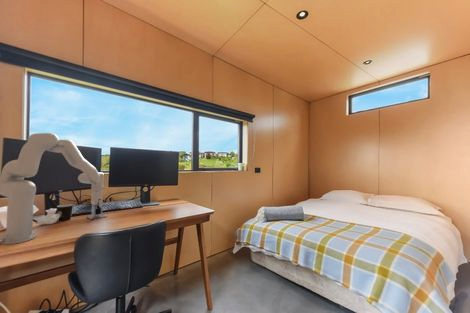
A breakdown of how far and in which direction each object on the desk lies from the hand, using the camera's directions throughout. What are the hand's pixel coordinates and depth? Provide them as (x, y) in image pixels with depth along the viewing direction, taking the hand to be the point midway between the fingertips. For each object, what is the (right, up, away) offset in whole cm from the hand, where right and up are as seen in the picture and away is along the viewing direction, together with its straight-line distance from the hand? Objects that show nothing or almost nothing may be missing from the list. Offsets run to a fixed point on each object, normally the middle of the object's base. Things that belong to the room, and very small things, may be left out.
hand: (96, 213), depth 147 cm
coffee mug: (-19, -3, -7) cm, 20 cm away
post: (0, -3, 0) cm, 3 cm away
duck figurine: (-20, -2, -16) cm, 26 cm away
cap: (0, -1, 0) cm, 1 cm away
